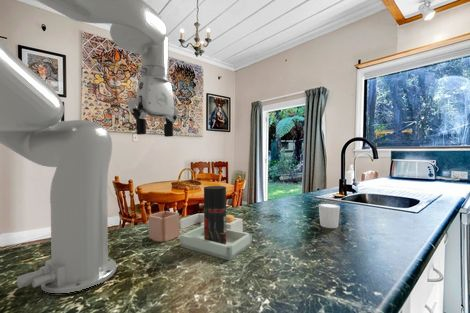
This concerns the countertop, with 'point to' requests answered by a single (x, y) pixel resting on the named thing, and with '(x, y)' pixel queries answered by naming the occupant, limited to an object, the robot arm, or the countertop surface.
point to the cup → (163, 226)
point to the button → (229, 218)
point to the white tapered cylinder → (329, 215)
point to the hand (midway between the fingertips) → (155, 135)
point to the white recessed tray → (199, 217)
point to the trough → (228, 251)
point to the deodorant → (215, 214)
